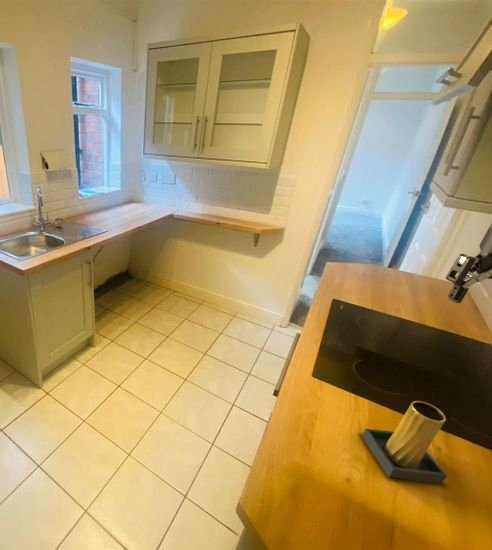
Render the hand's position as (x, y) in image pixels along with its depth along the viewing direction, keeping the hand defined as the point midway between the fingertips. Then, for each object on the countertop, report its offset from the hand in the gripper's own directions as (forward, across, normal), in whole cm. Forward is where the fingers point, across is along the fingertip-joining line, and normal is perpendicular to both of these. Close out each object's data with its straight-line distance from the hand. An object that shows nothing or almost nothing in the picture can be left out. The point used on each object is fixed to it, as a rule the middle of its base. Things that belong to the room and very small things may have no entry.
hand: (475, 302), depth 65 cm
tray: (+33, -12, -14) cm, 38 cm away
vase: (+33, -12, -14) cm, 37 cm away
